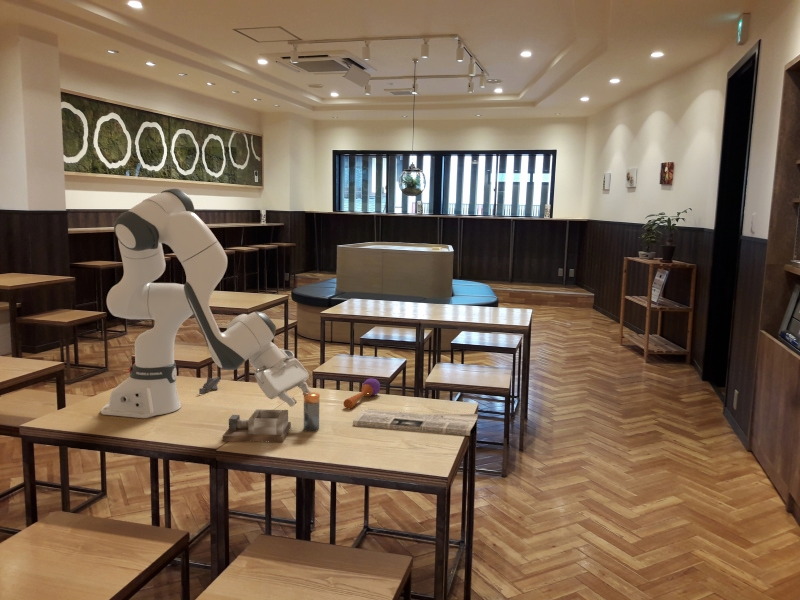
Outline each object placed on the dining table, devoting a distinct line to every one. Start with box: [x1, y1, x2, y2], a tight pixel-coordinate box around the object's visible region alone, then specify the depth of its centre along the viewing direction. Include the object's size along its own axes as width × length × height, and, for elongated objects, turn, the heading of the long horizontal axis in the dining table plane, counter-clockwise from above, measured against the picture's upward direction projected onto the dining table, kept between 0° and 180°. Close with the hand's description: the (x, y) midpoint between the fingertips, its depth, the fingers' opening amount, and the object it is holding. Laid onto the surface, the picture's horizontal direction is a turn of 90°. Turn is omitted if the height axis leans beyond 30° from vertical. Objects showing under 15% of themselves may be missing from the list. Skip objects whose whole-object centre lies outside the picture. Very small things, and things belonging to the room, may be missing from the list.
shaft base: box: [222, 408, 292, 443], centre depth 166 cm, size 16×12×6 cm
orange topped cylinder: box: [303, 391, 321, 432], centre depth 170 cm, size 4×4×10 cm
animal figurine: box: [198, 376, 221, 395], centre depth 206 cm, size 12×4×5 cm, turn 165°
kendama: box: [343, 377, 381, 409], centre depth 199 cm, size 6×6×20 cm
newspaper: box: [352, 408, 479, 437], centre depth 177 cm, size 35×12×4 cm, turn 79°
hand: (301, 400), depth 170 cm, fingers open, 8 cm apart
